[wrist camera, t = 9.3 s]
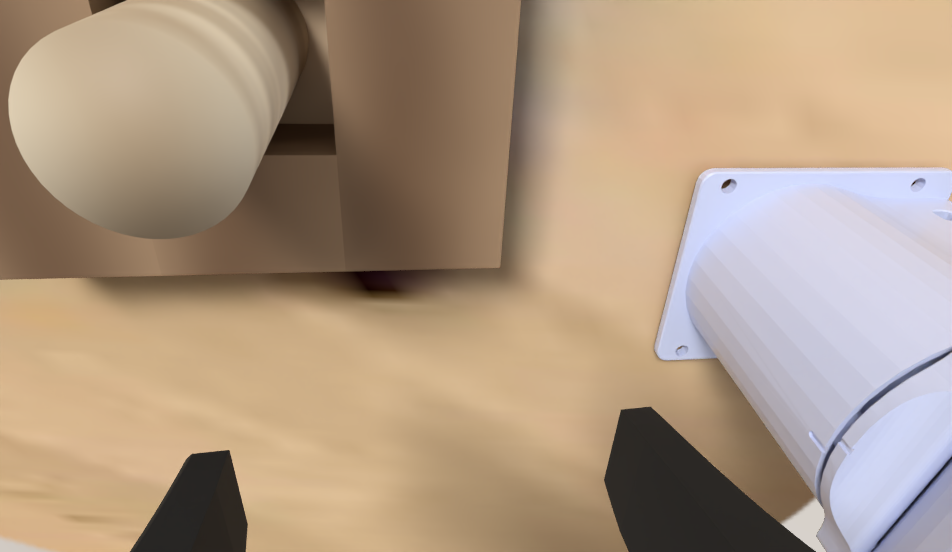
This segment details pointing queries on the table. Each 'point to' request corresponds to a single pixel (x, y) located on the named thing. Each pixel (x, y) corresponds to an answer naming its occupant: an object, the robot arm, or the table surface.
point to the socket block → (315, 153)
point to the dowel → (157, 109)
